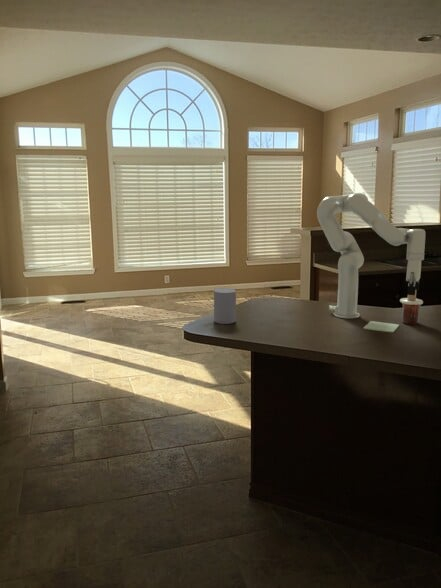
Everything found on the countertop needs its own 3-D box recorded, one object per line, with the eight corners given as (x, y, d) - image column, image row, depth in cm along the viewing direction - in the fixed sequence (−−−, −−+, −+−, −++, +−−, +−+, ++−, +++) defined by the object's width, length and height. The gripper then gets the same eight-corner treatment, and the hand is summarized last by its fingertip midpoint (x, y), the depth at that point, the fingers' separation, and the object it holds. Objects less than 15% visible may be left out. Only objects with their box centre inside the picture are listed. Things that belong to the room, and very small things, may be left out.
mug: (399, 320, 252) (400, 299, 249) (418, 321, 250) (419, 300, 248) (402, 326, 240) (404, 304, 238) (422, 327, 238) (424, 305, 236)
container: (216, 318, 254) (216, 288, 251) (237, 319, 252) (237, 289, 249) (211, 323, 244) (211, 292, 241) (233, 325, 242) (233, 293, 239)
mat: (363, 328, 236) (363, 327, 236) (370, 322, 248) (370, 321, 247) (393, 332, 230) (393, 331, 230) (399, 325, 241) (399, 324, 241)
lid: (398, 303, 241) (399, 290, 240) (402, 299, 250) (403, 286, 249) (421, 305, 237) (422, 292, 235) (424, 301, 245) (425, 288, 244)
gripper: (410, 253, 248) (408, 289, 251) (403, 258, 233) (401, 295, 236) (426, 254, 244) (424, 290, 247) (420, 259, 229) (418, 297, 233)
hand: (413, 293), depth 242 cm, fingers open, 9 cm apart
